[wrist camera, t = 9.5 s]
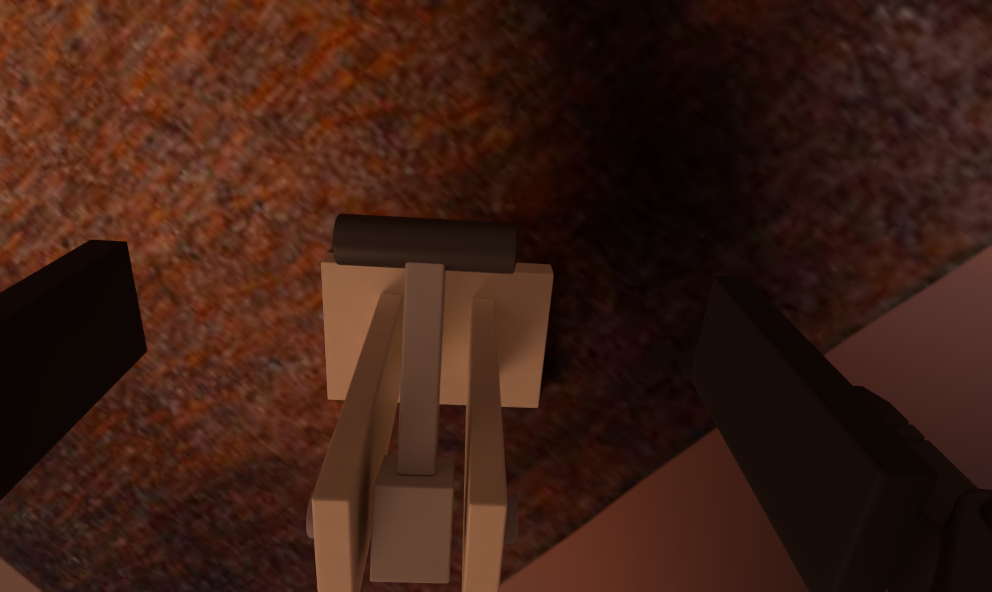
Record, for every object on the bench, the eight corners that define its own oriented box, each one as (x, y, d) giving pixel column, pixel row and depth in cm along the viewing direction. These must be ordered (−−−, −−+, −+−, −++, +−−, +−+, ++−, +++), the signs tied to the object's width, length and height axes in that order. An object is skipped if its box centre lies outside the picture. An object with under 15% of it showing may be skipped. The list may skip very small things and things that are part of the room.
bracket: (326, 251, 28) (202, 453, 15) (550, 264, 28) (611, 468, 16) (333, 385, 30) (232, 649, 18) (536, 394, 31) (576, 654, 18)
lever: (346, 214, 19) (329, 211, 16) (513, 224, 19) (520, 223, 16) (335, 538, 20) (318, 581, 17) (494, 543, 20) (498, 585, 17)
